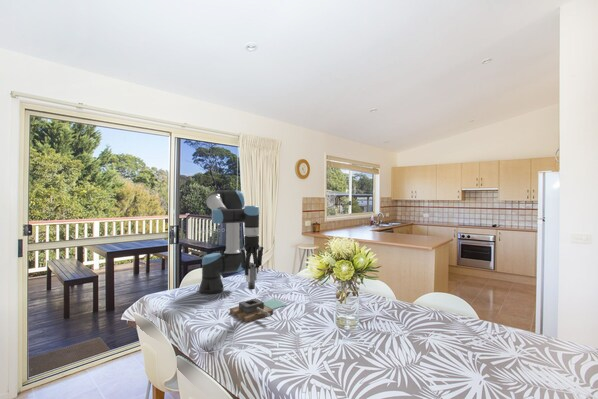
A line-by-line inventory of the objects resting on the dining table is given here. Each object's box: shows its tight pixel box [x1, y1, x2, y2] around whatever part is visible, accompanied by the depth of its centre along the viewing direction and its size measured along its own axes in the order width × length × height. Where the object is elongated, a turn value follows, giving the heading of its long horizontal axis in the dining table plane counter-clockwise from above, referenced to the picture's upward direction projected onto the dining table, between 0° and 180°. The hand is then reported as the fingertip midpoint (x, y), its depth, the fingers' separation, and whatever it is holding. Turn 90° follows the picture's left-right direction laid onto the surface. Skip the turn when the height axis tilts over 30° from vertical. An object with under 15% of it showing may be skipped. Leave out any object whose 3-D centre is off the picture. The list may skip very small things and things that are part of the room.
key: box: [247, 261, 256, 290], centre depth 154 cm, size 6×3×13 cm, turn 40°
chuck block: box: [229, 297, 274, 323], centre depth 151 cm, size 24×16×6 cm, turn 40°
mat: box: [263, 298, 287, 311], centre depth 166 cm, size 12×10×1 cm
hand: (251, 280), depth 154 cm, fingers closed on key, 3 cm apart
